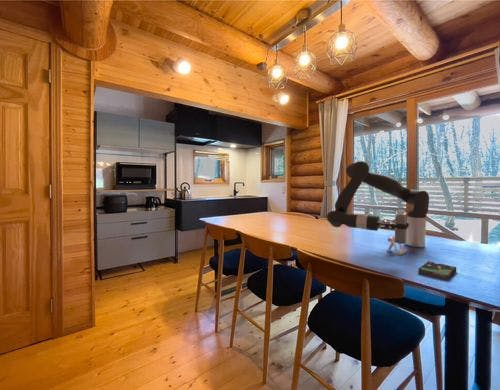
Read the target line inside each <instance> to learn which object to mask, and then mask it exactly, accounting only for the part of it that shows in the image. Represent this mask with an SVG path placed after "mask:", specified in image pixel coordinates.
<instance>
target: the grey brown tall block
mask: <svg viewBox="0 0 500 390" xmlns="http://www.w3.org/2000/svg"><path fill="white" fill-rule="evenodd" d="M394 220H395V223H397V224H406V223H407V217H406V215H405V210H404V209H403V210H402V209H398V210H397V214H396V216H395V218H394ZM394 236H395V244H398V245H399V244H401V245H406V244H405V243H406V229H394Z"/></svg>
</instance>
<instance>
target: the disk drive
mask: <svg viewBox="0 0 500 390" xmlns="http://www.w3.org/2000/svg"><path fill="white" fill-rule="evenodd" d="M456 273H457V266H452V265H448V264H443V263H435V261H429V260H428V261H427V262H426V263H424V264H423V265H421V266H420V267H419V268H418V271H417V274H418V275H422V274H423V276H425V277H426V276H427V277H431V278H436V279H440V280H443V281H449V280H450V279H451V278H452V277H453V276H454V275H455V274H456Z"/></svg>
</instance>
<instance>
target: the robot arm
mask: <svg viewBox="0 0 500 390" xmlns="http://www.w3.org/2000/svg"><path fill="white" fill-rule="evenodd" d="M345 172H346V175H347V176H348V177H349V178H350V180H349V181H348V183H347V184H346V185H345V187H343V189H342V190H341V191H340V192H339V195H338V197H337V199H336V201H335V203H334V207H335V208H334V210H331V211H329V212H328V213H327V214H326V220H327V221H328V223H330V225H331V226H332V227H334V228H340V227H342V225H345V226H346V227H347V228H353V229H360V230H365V231H366V230H367V231H374V232H375V231H376V232H377V231H378V230H379V229H380V230H381V229H384V230H394V231H395V229H406V243H405V244H404V245H407V246H411V247H414V248H424V247H425V245H426V230H427V229H426V228H427V214H428V213H429V207H430V204H429V203H430V195H429V193H428V192H427V191H425V190H422V189H418V190H417V189H410V188H407V187H405V186H403V185H402V184H401V183H400V181H398V180H397V179H395V178H394V177H392V176H389V175H386V174H384V173H377V172H371V171H370V166H369V164H368V163H367V161H363V160H360V161H355V162H353V163H351V164H349V165H347V167H346V169H345ZM362 183H364V184H366V185H368V186H370V187H373V188H375V189H377V190H379V191H382V192H384V193H386V194H388V195H390V196H393V197H396V198H398V199H400V200H402V201H403V202H405V203H407V205H411V206H413V209H412V210H409V211H407V217H406V224H397V223H395V219H394V220H393V219H384V218H383V219H381V220H380V216H379V215H372V214H366V213H365V214H363V213H362V214H356V213H348V209H349V206H350V204H351V203H352V200H353V198H354V196H355V195H356V192H357V190H358V189H359V188H360V187H361V184H362Z"/></svg>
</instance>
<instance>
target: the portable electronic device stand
mask: <svg viewBox="0 0 500 390" xmlns="http://www.w3.org/2000/svg"><path fill="white" fill-rule="evenodd" d="M387 242H389V243H390V245H389V246H388V248H387V250H386V252H389V251H391V250H392V248H394V249H395V252H396V255H397V256H401V255H403V254H406V253H407V252H408V249H407V248H403V246H402V245H403V244H399V243H398V245H399V248H400V250H401V251H399V249H398V247H397V244H396V243H395V235H394V236H391V237H388V238H387Z"/></svg>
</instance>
